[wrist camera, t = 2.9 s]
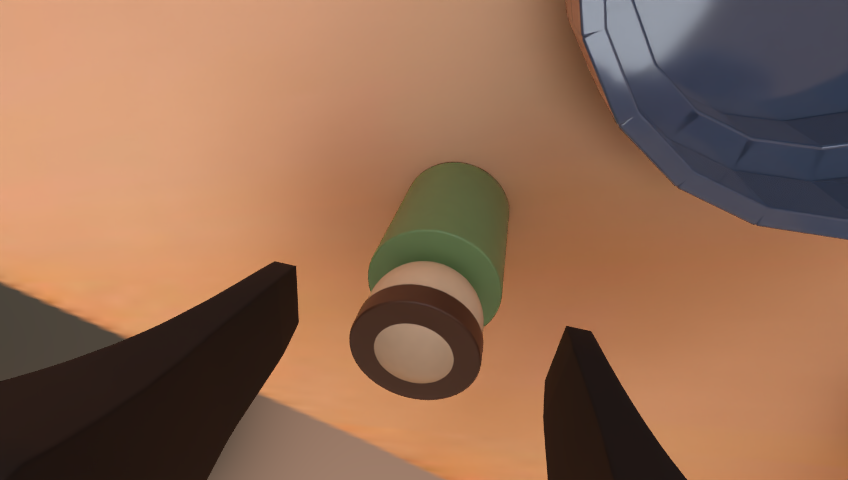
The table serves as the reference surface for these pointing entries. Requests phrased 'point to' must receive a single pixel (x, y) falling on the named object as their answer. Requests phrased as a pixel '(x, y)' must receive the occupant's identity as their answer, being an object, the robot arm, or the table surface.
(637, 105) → the bowl
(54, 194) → the table surface
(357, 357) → the peg doll
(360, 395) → the table surface
